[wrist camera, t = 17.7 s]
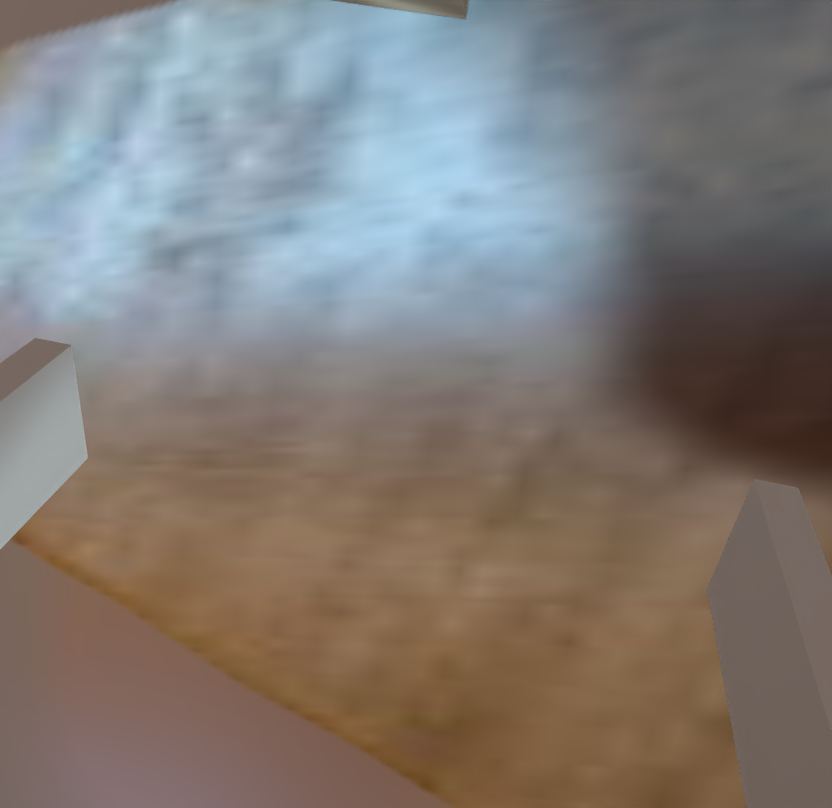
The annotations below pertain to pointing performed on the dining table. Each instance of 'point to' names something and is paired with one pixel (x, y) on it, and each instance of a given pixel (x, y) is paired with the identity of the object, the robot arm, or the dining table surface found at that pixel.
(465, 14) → the maple tray
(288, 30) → the dining table surface
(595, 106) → the dining table surface
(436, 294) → the dining table surface
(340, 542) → the dining table surface
